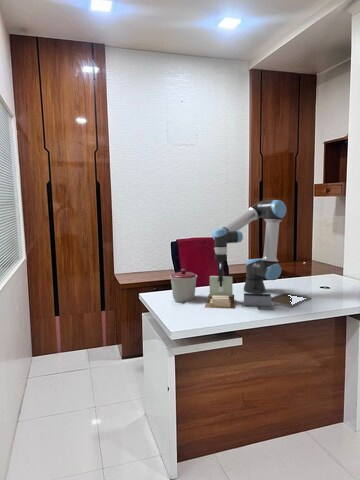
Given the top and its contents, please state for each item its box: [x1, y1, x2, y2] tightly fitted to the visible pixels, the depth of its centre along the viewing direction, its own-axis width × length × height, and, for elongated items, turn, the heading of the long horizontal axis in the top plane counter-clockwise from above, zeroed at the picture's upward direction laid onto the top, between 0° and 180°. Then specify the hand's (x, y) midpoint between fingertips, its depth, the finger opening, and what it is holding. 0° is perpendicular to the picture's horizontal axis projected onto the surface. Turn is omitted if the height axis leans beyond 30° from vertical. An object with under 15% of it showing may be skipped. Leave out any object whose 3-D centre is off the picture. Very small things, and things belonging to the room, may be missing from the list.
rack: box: [204, 293, 237, 310], centre depth 218 cm, size 20×18×6 cm
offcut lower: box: [210, 299, 231, 307], centre depth 214 cm, size 8×12×2 cm, turn 80°
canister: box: [169, 268, 198, 303], centre depth 231 cm, size 18×18×21 cm
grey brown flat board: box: [271, 292, 312, 308], centre depth 227 cm, size 19×2×30 cm
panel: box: [209, 275, 234, 297], centre depth 221 cm, size 2×14×16 cm, turn 80°
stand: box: [241, 292, 274, 311], centre depth 214 cm, size 10×18×8 cm, turn 80°
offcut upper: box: [212, 296, 229, 303], centre depth 214 cm, size 7×10×2 cm
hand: (221, 290), depth 221 cm, fingers open, 3 cm apart
